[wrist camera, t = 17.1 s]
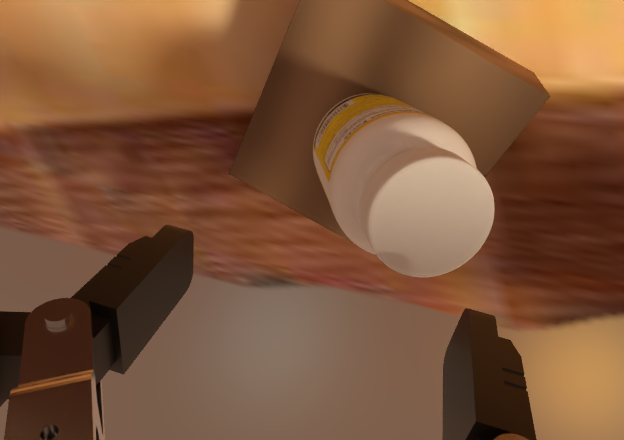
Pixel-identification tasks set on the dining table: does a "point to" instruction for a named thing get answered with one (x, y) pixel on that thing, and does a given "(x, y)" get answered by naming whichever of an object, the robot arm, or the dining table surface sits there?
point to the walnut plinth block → (377, 91)
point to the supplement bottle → (402, 185)
